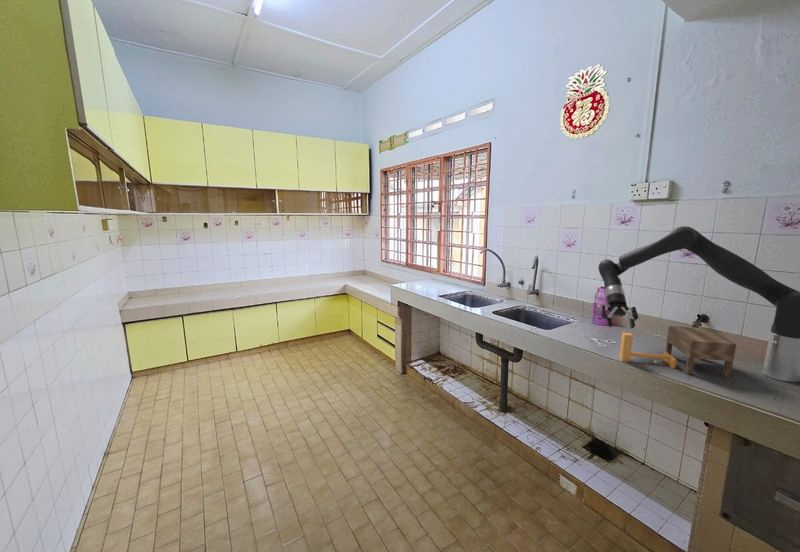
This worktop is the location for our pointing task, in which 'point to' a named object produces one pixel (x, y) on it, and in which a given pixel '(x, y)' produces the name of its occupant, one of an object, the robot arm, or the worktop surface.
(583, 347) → the worktop surface
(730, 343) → the wooden footstool
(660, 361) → the steel token
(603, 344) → the scissors
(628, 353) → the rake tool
